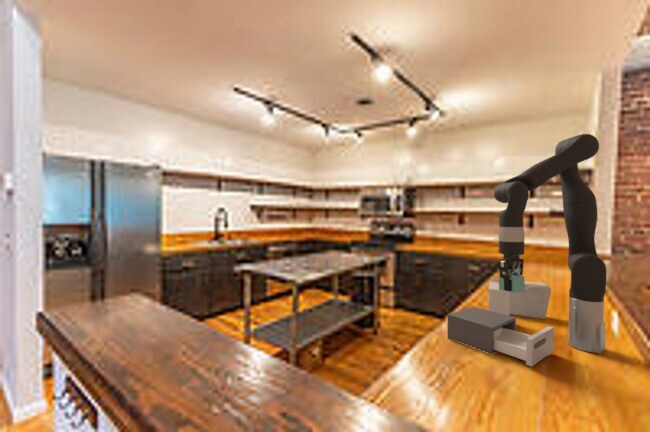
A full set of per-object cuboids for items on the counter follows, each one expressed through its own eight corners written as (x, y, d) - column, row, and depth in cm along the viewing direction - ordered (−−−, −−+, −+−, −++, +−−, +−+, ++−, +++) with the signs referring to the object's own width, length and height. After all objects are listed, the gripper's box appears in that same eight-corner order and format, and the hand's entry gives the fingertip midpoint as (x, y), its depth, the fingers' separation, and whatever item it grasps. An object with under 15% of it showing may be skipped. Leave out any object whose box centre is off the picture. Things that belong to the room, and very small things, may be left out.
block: (524, 291, 101) (524, 276, 101) (518, 293, 98) (517, 278, 98) (505, 287, 106) (505, 273, 106) (498, 289, 103) (498, 275, 103)
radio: (494, 313, 140) (495, 261, 140) (494, 309, 148) (494, 259, 148) (552, 321, 130) (552, 265, 130) (548, 316, 138) (548, 262, 138)
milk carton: (507, 327, 123) (507, 281, 123) (488, 323, 128) (488, 279, 128) (509, 322, 129) (509, 278, 129) (490, 318, 133) (491, 276, 133)
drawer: (554, 351, 99) (554, 327, 99) (532, 366, 88) (532, 340, 88) (502, 335, 112) (502, 314, 112) (478, 346, 102) (478, 323, 102)
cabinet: (515, 342, 108) (515, 317, 108) (491, 354, 98) (491, 327, 98) (472, 328, 121) (472, 306, 121) (447, 338, 111) (447, 314, 111)
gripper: (513, 241, 95) (514, 295, 94) (532, 239, 103) (533, 288, 103) (489, 240, 101) (490, 290, 101) (509, 238, 109) (509, 284, 109)
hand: (511, 289), depth 102 cm, fingers closed on block, 5 cm apart
